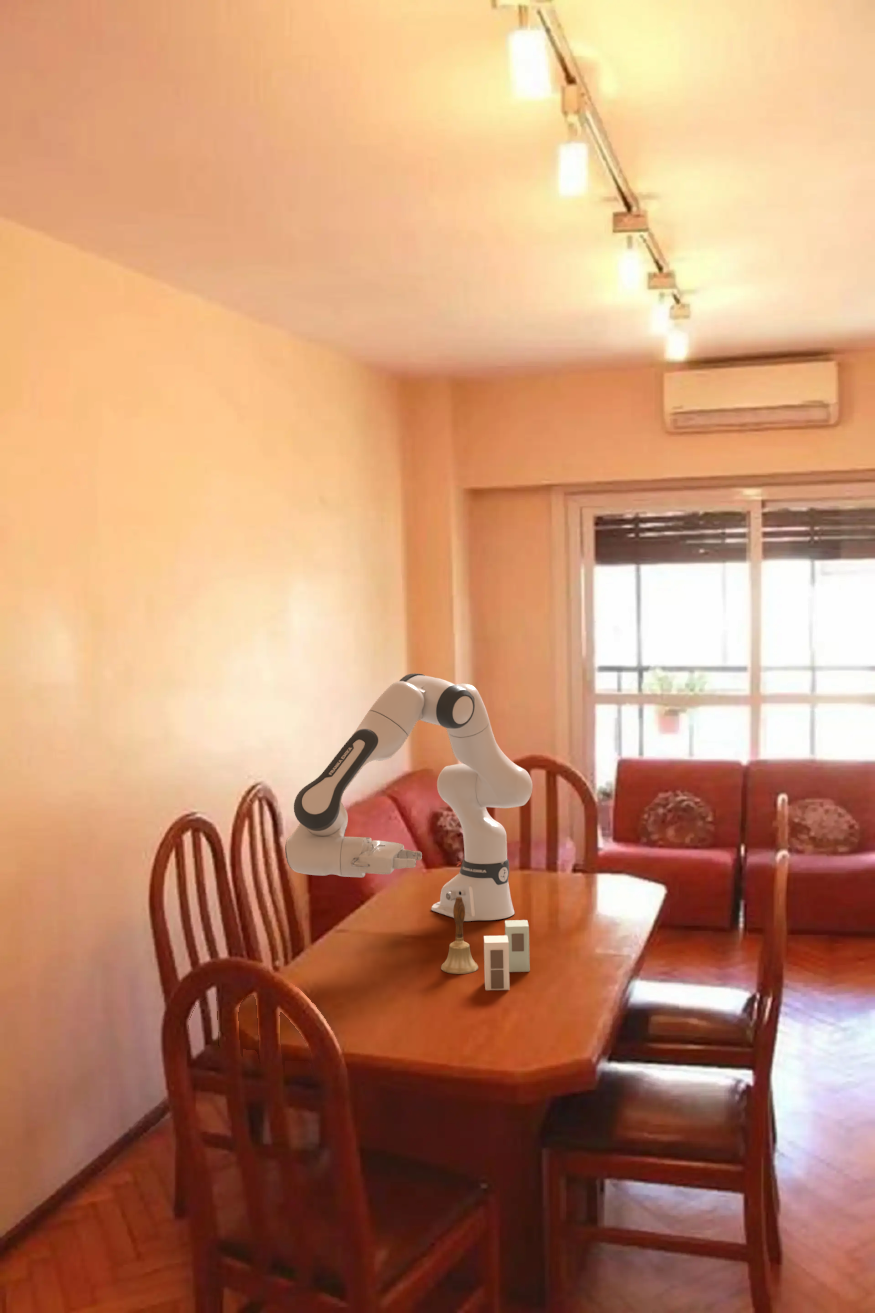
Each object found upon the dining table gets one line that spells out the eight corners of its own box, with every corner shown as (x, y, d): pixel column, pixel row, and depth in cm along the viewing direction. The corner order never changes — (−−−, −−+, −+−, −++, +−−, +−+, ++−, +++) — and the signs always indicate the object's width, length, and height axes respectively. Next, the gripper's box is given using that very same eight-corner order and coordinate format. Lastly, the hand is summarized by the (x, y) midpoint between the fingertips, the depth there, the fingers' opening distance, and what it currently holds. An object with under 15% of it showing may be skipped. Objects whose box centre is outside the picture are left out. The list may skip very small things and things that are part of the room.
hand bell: (483, 964, 255) (481, 893, 254) (471, 975, 247) (470, 903, 246) (447, 961, 258) (446, 891, 257) (435, 972, 250) (434, 900, 249)
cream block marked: (484, 982, 243) (483, 936, 242) (508, 982, 243) (507, 935, 242) (485, 990, 237) (484, 943, 237) (509, 990, 237) (508, 942, 237)
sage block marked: (505, 965, 254) (504, 920, 254) (528, 964, 254) (527, 920, 254) (506, 972, 249) (506, 927, 248) (529, 972, 249) (528, 926, 248)
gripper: (348, 850, 244) (412, 853, 243) (365, 836, 265) (424, 838, 263) (347, 880, 244) (411, 882, 243) (365, 863, 265) (424, 865, 263)
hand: (418, 859), depth 253 cm, fingers open, 8 cm apart
